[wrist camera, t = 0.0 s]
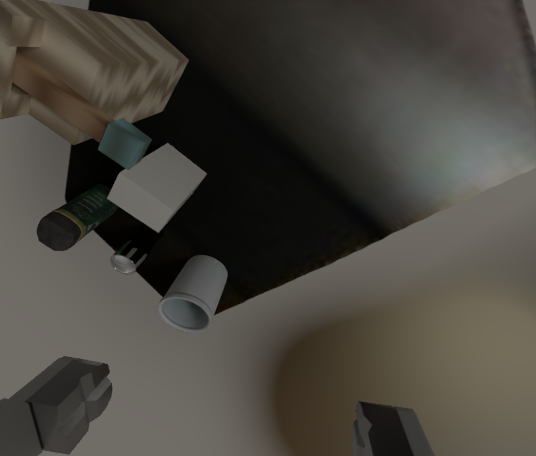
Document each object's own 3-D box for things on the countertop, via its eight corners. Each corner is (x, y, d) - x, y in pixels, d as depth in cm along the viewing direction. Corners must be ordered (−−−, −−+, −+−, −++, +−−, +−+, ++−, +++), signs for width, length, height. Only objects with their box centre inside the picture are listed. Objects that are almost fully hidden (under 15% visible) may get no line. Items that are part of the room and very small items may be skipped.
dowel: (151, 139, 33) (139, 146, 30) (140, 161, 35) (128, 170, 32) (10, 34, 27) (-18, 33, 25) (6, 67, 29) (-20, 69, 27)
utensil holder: (175, 259, 80) (145, 303, 66) (213, 247, 75) (190, 293, 60) (200, 290, 87) (178, 336, 72) (237, 281, 82) (221, 329, 67)
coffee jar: (99, 177, 66) (37, 214, 51) (126, 197, 69) (74, 238, 54) (87, 199, 71) (26, 238, 56) (112, 217, 74) (60, 259, 59)
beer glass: (137, 223, 74) (103, 256, 61) (156, 218, 71) (124, 251, 59) (151, 241, 77) (121, 277, 65) (169, 237, 75) (142, 272, 63)
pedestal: (167, 142, 58) (119, 172, 44) (206, 173, 61) (174, 211, 47) (155, 164, 62) (106, 198, 47) (193, 192, 65) (158, 232, 50)
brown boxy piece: (147, 21, 46) (-23, -12, 23) (188, 60, 48) (75, 65, 25) (124, 79, 52) (-28, 100, 29) (162, 111, 54) (51, 153, 31)
